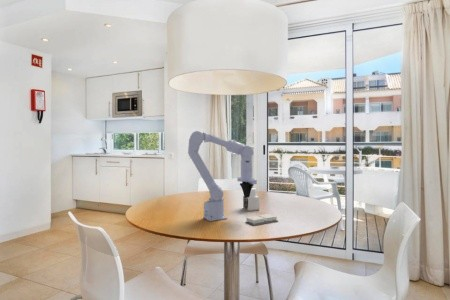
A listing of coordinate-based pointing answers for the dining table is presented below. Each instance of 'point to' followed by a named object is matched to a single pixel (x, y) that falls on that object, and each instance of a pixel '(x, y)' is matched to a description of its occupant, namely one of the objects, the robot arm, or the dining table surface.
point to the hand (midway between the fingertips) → (246, 197)
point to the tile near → (255, 219)
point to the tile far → (268, 217)
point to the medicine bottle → (252, 201)
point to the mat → (262, 222)
